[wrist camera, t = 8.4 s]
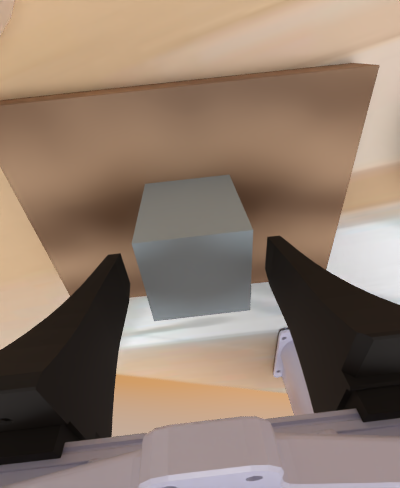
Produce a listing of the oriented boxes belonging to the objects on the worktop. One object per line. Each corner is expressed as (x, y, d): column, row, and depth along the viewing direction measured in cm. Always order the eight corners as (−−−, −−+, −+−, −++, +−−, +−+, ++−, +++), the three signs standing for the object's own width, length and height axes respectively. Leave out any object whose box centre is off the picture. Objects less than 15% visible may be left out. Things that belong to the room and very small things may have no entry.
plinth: (311, 255, 23) (324, 275, 21) (83, 281, 23) (74, 303, 21) (352, 63, 15) (379, 65, 13) (-4, 100, 15) (-32, 109, 13)
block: (230, 242, 19) (250, 309, 14) (159, 250, 19) (154, 321, 14) (229, 174, 16) (253, 229, 11) (145, 183, 16) (131, 243, 11)
